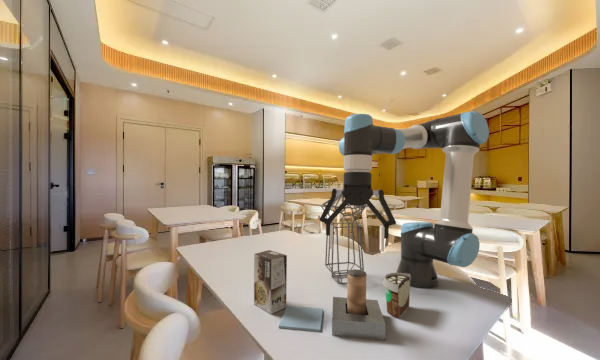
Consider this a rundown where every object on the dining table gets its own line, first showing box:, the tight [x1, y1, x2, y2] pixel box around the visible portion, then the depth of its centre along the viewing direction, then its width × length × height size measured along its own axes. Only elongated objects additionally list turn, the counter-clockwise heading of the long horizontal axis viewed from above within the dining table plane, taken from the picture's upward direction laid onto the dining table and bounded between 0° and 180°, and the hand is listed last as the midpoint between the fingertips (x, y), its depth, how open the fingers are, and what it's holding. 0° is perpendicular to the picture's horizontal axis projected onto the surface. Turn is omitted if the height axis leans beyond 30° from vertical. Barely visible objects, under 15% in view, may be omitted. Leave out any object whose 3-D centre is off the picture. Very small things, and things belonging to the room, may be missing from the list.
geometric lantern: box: [320, 194, 369, 285], centre depth 103 cm, size 16×16×35 cm
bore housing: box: [331, 296, 386, 341], centre depth 70 cm, size 13×13×4 cm
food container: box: [382, 272, 411, 320], centre depth 79 cm, size 12×6×10 cm, turn 141°
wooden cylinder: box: [346, 268, 367, 315], centre depth 70 cm, size 5×5×14 cm
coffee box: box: [253, 249, 288, 315], centre depth 80 cm, size 9×6×16 cm
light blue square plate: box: [278, 305, 324, 333], centre depth 73 cm, size 11×11×1 cm
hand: (356, 249), depth 70 cm, fingers open, 13 cm apart
